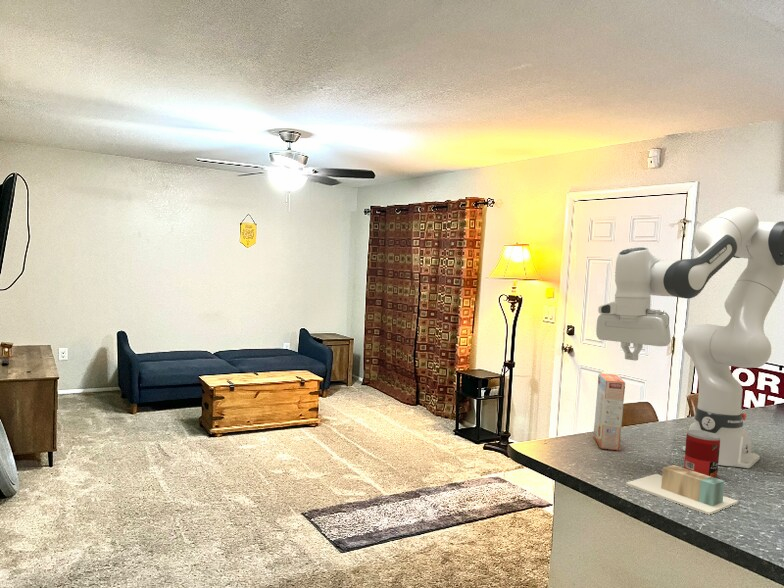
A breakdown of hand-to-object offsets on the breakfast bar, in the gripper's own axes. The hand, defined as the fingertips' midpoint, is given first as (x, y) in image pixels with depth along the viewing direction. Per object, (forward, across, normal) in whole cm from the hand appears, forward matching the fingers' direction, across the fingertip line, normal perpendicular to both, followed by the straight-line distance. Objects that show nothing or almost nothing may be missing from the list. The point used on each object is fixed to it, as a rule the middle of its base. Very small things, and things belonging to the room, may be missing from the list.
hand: (631, 359), depth 156 cm
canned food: (+31, -11, -14) cm, 36 cm away
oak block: (+26, -14, +5) cm, 30 cm away
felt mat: (+30, -17, +5) cm, 35 cm away
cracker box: (+30, +18, -14) cm, 37 cm away
